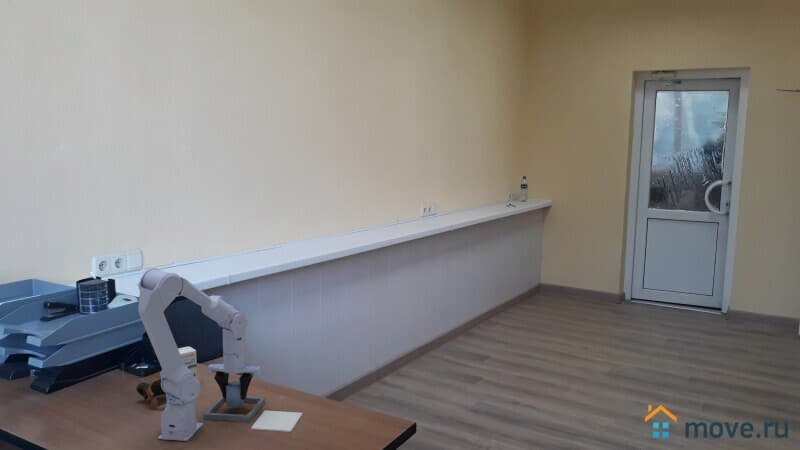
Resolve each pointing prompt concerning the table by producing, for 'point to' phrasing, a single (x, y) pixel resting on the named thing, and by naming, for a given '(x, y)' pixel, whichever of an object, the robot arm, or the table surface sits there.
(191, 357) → the ink box
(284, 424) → the mat
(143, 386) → the brown animal figurine
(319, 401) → the table surface
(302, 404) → the table surface
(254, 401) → the grey square frame
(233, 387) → the blue-grey mug
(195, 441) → the table surface
